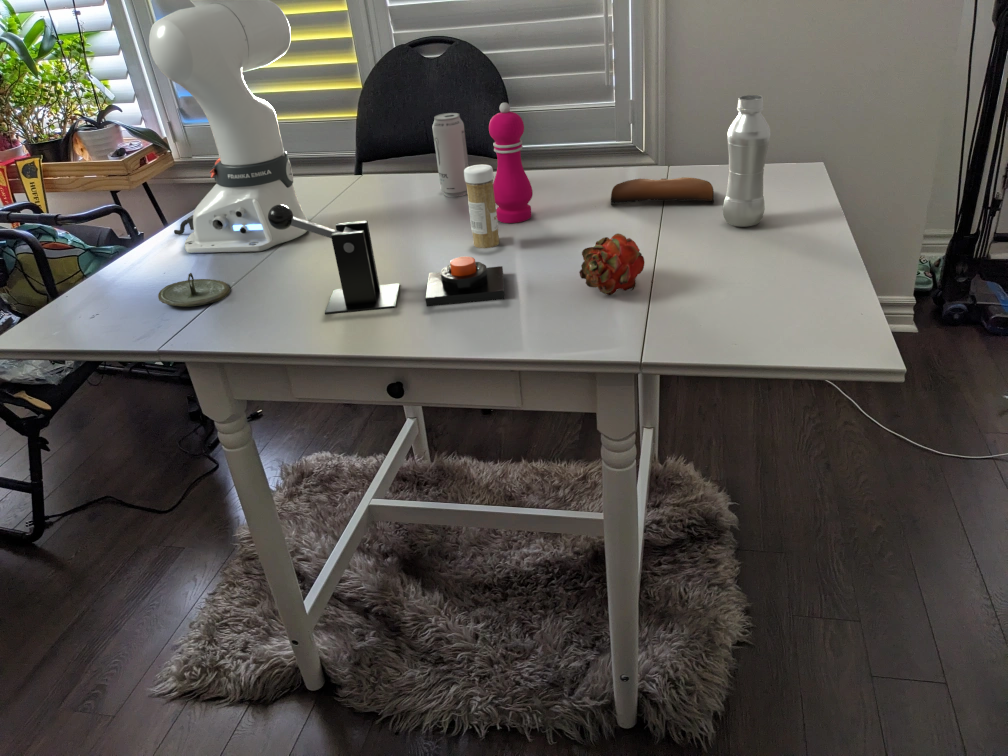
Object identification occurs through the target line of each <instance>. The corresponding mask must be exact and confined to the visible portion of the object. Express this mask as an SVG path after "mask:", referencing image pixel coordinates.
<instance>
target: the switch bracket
mask: <svg viewBox="0 0 1008 756" xmlns="http://www.w3.org/2000/svg"><path fill="white" fill-rule="evenodd" d="M345 227H348V228H351V229H354V230H357V231H351V232H343V231H344V229H345ZM335 230H337V231H340V232H341V233H332V235H331V238H330V239H331V242H332V246H333V252H334V256H335V257H334V258H335V262H336V266H337V271H338V275H339V280H340V281H339V282H340V285H341V288H335V289H332V292H331V295H330V298H329V299H328V300H329V301H328V303H327V305H326V307H325V310H324V315H335V314H346V313H356V312H368V311H378V310H391V309H396V305H397V303H398V302H397V301H398V297H399V292H400V287H401V283H399V282H398V283H390V284H389V283H388V284H380V281H379V276H378V271H377V265H376V260H375V254H374V249H373V243H372V238H371V232H370V227H369V222H368V220H357V221H349V222H348V221H347V222H338V223H336V224H335ZM364 233H365V234H364Z"/></svg>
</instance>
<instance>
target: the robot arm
mask: <svg viewBox="0 0 1008 756" xmlns="http://www.w3.org/2000/svg"><path fill="white" fill-rule="evenodd" d="M189 1H190V3H192V5H193V6H192V7H186V8H181V9H177V10H175V11H173V12H171V13H168V14H167V15H165V16H163V17H162V18H161V17H160V18H159V19H158V20H156V21H155V22H154V23H153V24H152V25H151V28H150V31H149V35H148V46H149V47H148V48H149V52H150V55H151V58H152V60H153V62H154V64H155V66H156V67H157V69H158V70H159V71H160V72H161V74H163V75H164V76H165V77H166V78H167V79H168V80H170V81H172V82H174V83H175V84H177V85H179V86H180V87H182V88H183V89H185V90H186V91H187V92H188V93H189V95H191V97H192V98H194V100H195V101H196V103H197V104H198V105H199V107H200V108H201V110H202V111H203V113H204V115H205V117H206V119H207V122H208V124H209V127H210V130H211V133H212V136H213V140H214V143H215V146H216V151H217V153H218V159H216V160H215V162H214V165H213V166H212V167H211V170H210V171H209V174H210V178H211V179H214V181H215V184H214V186H213V187H211V189H210V190H209V191H208V192H207V193H206V195H205V196H204V197H203V199H201V200H200V201H199V203H198V204H197V206H195V209H194V210H193V214H192V215H190V216H189V217H187V218H186V219H184V220H182V222H181V223H180V224H179V229H174V231H173V234H174V235H177V236H180V235H183V234H184V233H185V230H186V229H185V228H186V226H187V225H189V227H190V228H189V229H190V231H192V232H191V233H190V234H189V235H188V236H187V238H186V239H185V241H184V249H185V251H186V253H189V254H197V253H201V254H202V253H205V254H206V253H240V252H242V253H244V252H245V253H247V252H262V251H265V250H268V249H270V248H272V247H274V246H276V245H280V244H283V243H285V242H290V241H291V240H295V239H297V238H299V237H301V236H303V235H305V234H306V233H307V232H308V231H307V230H304V229H300V228H297V227H294V226H290V227H289V228H287V229H284V230H279V229H276V228H274V227H273V226H272V225H271V224H270V223H269V220H268V213H269V211H270V209H271V208H272V207H273V206H275V205H285V206H287V207H288V208H290V210H291V211H292V213H293V216H294V217H297V218H300V219H303V220H306V221H309V220H308V218H307V216H306V214H305V212H304V210H303V208H302V205H301V202H300V201H299V198H298V195H297V191H296V189H295V186H294V174H293V169H292V164H291V161H290V159H289V155H288V152H287V151H286V150H285V148H284V144H283V140H282V136H281V131H280V127H279V122H278V118H277V117H278V116H277V113H276V111H275V108H274V107H273V106H272V104H270V103H269V102H268V101H266V100H265V99H263V98H261V97H258V96H256V95H254V94H253V93H252V92H251V90H250V89H249V88H248V85H247V84H246V81H245V79H244V75H243V73H245V72H249V71H252V70H256V69H259V68H264V67H267V66H268V65H270V64H272V63H273V62H275V61H277V60H278V59H280V58H281V57H283V56H284V55H285V54H286V53H287V52H288V51H289V48H290V45H291V42H292V41H291V40H292V34H291V26H290V23H289V20H288V18H287V16H286V14H285V13H284V11H283V10H282V8H281V7H280V6H279V5H278V4H276V3H275V2H274V1H272V0H189Z"/></svg>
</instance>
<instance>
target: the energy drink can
mask: <svg viewBox="0 0 1008 756" xmlns="http://www.w3.org/2000/svg"><path fill="white" fill-rule="evenodd" d="M433 118H434V121H433V124H432V125H431V127H432V135H433V142H434V150H435V158H436V165H437V172H438V180H439V187H440V188H439V189H440V191H441V192H442V193H443V195H444V196H445V197H449V198H456V197H462V196H465V195H468V192H467V185H466V182H465V177H464V170H465V169H466V168H467V167H470V166H469V158H468V149H467V141H466V132H465V123H464V121H463V120H462V118H461V116H460V113H457V112H447V113H446V112H445V113H440V114H437V115H435V116H434V117H433Z"/></svg>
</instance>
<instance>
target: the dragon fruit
mask: <svg viewBox="0 0 1008 756" xmlns="http://www.w3.org/2000/svg"><path fill="white" fill-rule="evenodd" d="M581 256H582V258H583V262H582V264H581V266H580V267H581V269H580V270H579V272H578V273H579V276H580V278H581V280H585V284H586V286H587V287H589V288H596V289H597V288H598V289H597V290H599V292H600V293H602V294H605V295H607V296H612V295H614V294H616V293H617V291H618V290H622V291H624V292H625V291H629V290H630V291H629V292H632V291H633V290H635V288H636V286H637V283H636V279H637V277H638V275H640V274H641V273H642V272H643V271H644V268H645V258H644V255H642V253H641V252H640V248H639V246H638V244H637V243H636V242H635V241H634V239H632V238H630V237H629V238H627V237H626V235H624V234H621V233H615V234H613V236H611V238H610V237H607V236H605V237H602V238H601V239H599V240H597V241H596V242H595V245H594V246H590V247H585V248H583V249H582V251H581Z"/></svg>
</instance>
